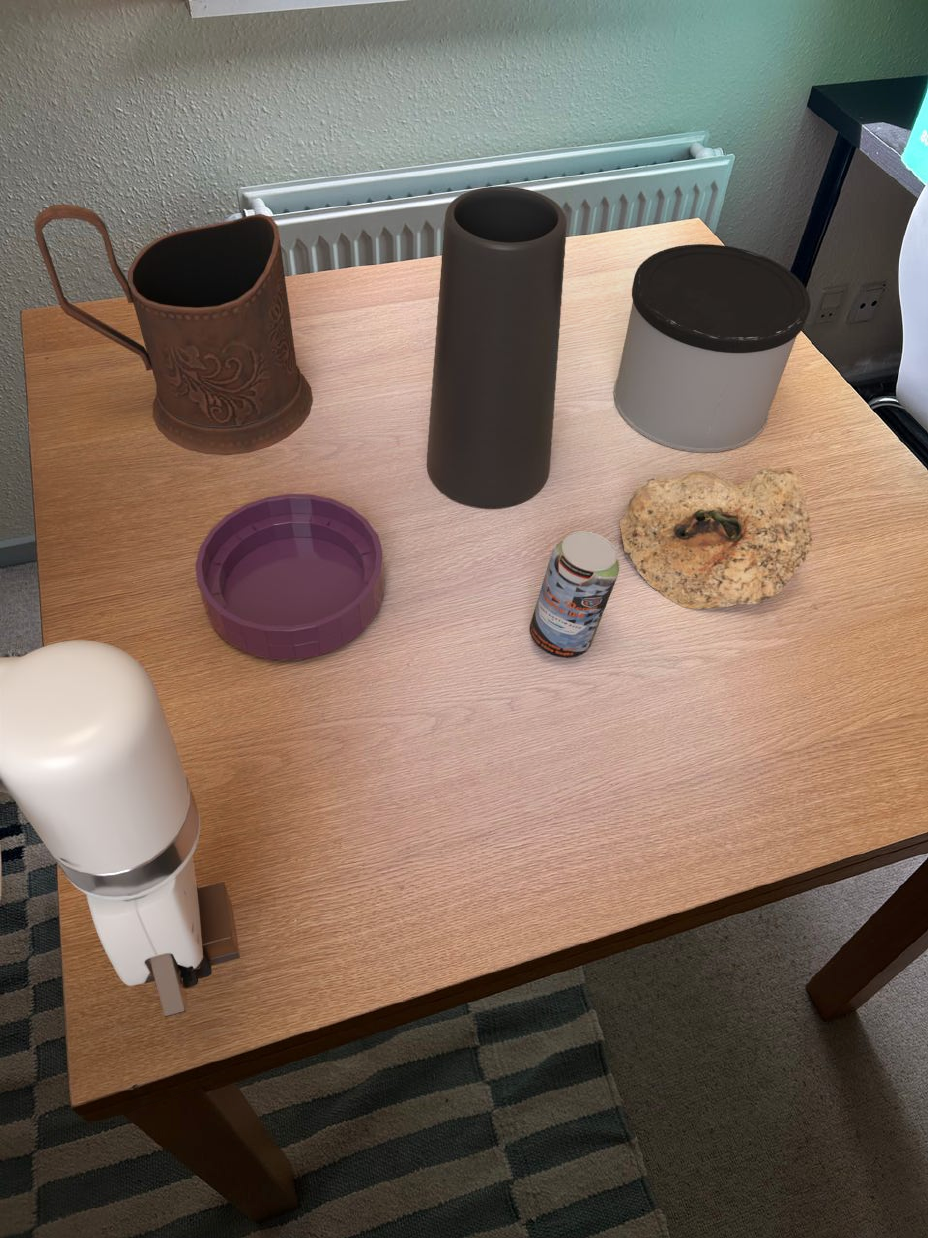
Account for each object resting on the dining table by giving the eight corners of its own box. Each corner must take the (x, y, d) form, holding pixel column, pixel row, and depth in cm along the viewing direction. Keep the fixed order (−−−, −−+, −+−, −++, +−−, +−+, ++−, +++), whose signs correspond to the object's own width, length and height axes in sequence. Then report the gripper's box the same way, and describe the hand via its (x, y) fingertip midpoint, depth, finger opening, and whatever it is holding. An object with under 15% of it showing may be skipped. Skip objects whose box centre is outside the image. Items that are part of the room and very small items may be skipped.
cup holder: (329, 436, 104) (307, 225, 84) (111, 479, 99) (33, 264, 79) (293, 342, 115) (266, 136, 95) (95, 377, 109) (22, 165, 90)
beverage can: (515, 640, 87) (526, 555, 77) (563, 598, 90) (579, 511, 81) (566, 678, 84) (584, 595, 75) (614, 633, 88) (637, 548, 78)
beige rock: (645, 641, 95) (633, 614, 88) (625, 521, 101) (613, 487, 94) (827, 608, 90) (829, 576, 84) (795, 483, 96) (794, 444, 89)
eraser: (134, 986, 61) (121, 966, 58) (130, 929, 64) (116, 907, 61) (240, 958, 63) (232, 937, 60) (232, 904, 65) (224, 881, 62)
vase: (537, 519, 97) (572, 267, 74) (413, 496, 98) (409, 242, 76) (558, 437, 105) (594, 187, 83) (442, 417, 107) (447, 167, 84)
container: (665, 471, 102) (696, 357, 90) (583, 374, 113) (602, 261, 101) (801, 429, 107) (847, 317, 96) (711, 341, 118) (743, 229, 106)
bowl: (315, 693, 82) (309, 660, 78) (168, 614, 87) (156, 580, 83) (416, 571, 92) (416, 536, 88) (279, 506, 97) (273, 471, 93)
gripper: (47, 710, 53) (119, 847, 67) (54, 998, 43) (137, 1087, 58) (180, 684, 55) (223, 823, 69) (215, 955, 45) (257, 1052, 59)
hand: (183, 942), depth 63 cm, fingers closed on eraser, 4 cm apart
